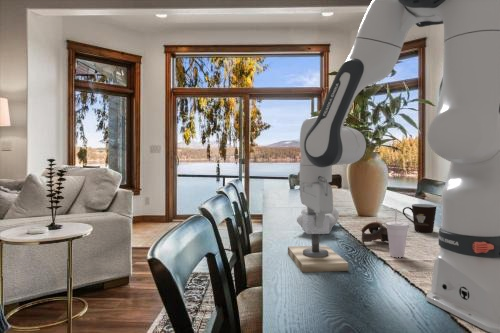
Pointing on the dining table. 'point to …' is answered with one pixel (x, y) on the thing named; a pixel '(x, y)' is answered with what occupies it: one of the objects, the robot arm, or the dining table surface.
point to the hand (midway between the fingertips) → (315, 224)
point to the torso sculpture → (332, 217)
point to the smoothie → (397, 237)
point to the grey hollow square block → (309, 223)
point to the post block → (317, 257)
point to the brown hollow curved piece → (374, 232)
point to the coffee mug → (423, 217)
